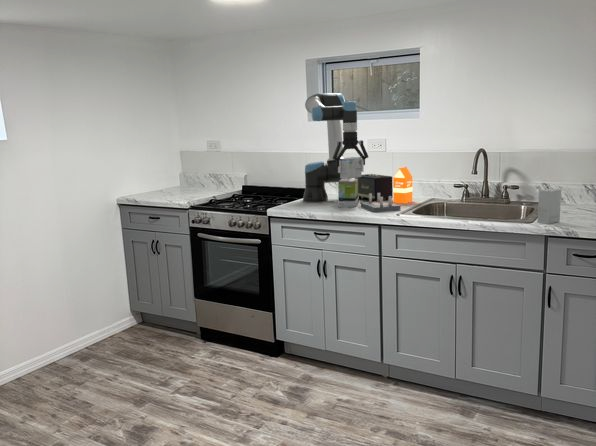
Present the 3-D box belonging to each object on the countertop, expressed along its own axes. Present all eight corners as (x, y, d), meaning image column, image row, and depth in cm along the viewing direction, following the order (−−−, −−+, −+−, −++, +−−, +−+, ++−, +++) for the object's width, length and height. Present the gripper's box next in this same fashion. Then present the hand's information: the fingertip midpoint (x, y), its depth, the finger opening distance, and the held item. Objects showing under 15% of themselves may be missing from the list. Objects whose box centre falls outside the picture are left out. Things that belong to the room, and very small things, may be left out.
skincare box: (548, 220, 252) (550, 187, 250) (560, 222, 247) (562, 189, 244) (536, 222, 248) (538, 189, 245) (548, 224, 243) (550, 190, 240)
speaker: (354, 198, 342) (354, 174, 339) (371, 196, 348) (371, 172, 345) (375, 202, 323) (375, 176, 320) (392, 200, 329) (392, 175, 326)
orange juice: (412, 201, 322) (412, 167, 318) (405, 203, 315) (405, 168, 312) (400, 200, 327) (400, 166, 323) (393, 202, 320) (393, 168, 316)
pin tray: (360, 207, 308) (360, 193, 307) (385, 205, 312) (385, 192, 310) (374, 212, 290) (373, 198, 288) (400, 210, 293) (400, 196, 292)
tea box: (355, 207, 309) (355, 180, 306) (338, 207, 311) (337, 181, 308) (358, 203, 323) (358, 177, 321) (341, 203, 325) (340, 178, 323)
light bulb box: (352, 176, 303) (352, 156, 301) (362, 177, 298) (361, 157, 296) (339, 178, 296) (339, 158, 294) (349, 179, 291) (348, 158, 289)
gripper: (330, 132, 286) (331, 174, 290) (374, 130, 292) (374, 171, 296) (326, 132, 293) (327, 172, 297) (369, 130, 299) (369, 170, 303)
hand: (350, 172), depth 296 cm, fingers closed on light bulb box, 12 cm apart
